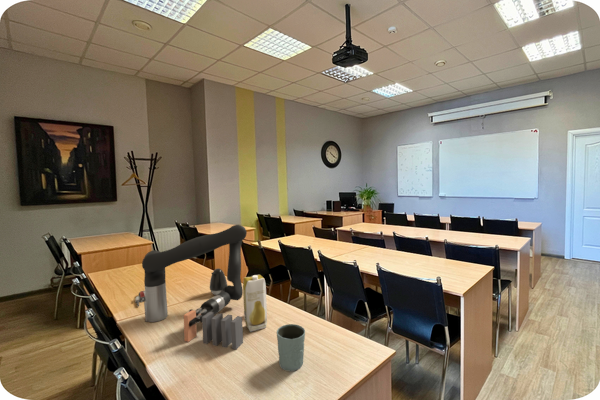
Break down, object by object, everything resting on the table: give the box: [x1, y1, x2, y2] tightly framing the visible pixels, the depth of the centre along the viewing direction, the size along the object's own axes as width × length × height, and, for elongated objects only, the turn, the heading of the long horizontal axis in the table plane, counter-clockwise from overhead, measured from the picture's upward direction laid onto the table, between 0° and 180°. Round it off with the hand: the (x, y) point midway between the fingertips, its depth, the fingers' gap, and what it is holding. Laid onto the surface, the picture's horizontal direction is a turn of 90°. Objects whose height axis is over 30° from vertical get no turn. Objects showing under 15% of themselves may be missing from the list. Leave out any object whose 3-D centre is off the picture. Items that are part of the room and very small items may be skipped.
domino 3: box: [211, 312, 224, 347], centre depth 115 cm, size 2×5×11 cm, turn 161°
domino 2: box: [201, 312, 215, 345], centre depth 116 cm, size 2×5×11 cm, turn 160°
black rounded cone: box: [209, 268, 228, 296], centre depth 166 cm, size 10×10×15 cm
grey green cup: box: [276, 323, 306, 372], centre depth 100 cm, size 10×10×12 cm
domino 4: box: [221, 314, 233, 349], centre depth 113 cm, size 2×5×11 cm, turn 160°
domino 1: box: [183, 309, 198, 343], centre depth 118 cm, size 2×5×11 cm, turn 161°
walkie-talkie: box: [134, 290, 146, 308], centre depth 161 cm, size 9×4×20 cm
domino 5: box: [231, 315, 244, 351], centre depth 112 cm, size 2×5×11 cm, turn 160°
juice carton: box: [242, 274, 268, 333], centre depth 125 cm, size 9×8×24 cm
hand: (187, 323), depth 116 cm, fingers closed on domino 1, 1 cm apart
